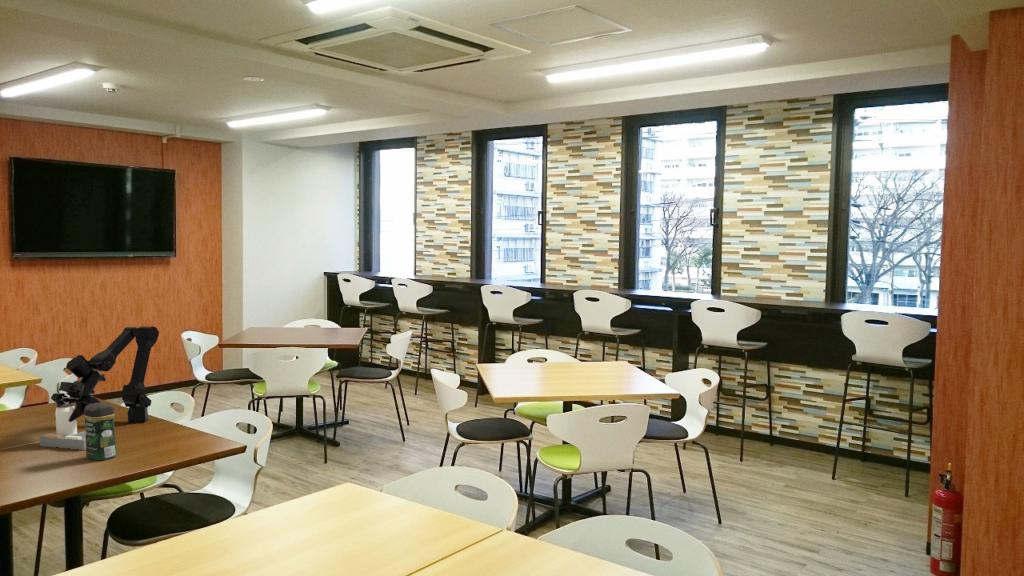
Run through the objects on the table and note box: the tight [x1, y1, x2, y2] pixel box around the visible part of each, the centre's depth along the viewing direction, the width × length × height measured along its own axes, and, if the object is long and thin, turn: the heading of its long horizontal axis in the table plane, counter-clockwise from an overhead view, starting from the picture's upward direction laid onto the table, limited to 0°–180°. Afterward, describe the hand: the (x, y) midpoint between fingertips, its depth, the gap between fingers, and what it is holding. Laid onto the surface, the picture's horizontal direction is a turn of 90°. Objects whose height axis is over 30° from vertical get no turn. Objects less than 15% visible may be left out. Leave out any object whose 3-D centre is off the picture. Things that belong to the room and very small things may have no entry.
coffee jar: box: [83, 403, 117, 462], centre depth 251 cm, size 10×8×19 cm
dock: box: [39, 430, 86, 451], centre depth 269 cm, size 10×20×4 cm, turn 72°
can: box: [55, 403, 78, 437], centre depth 271 cm, size 6×6×12 cm
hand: (62, 420), depth 270 cm, fingers closed on can, 6 cm apart
